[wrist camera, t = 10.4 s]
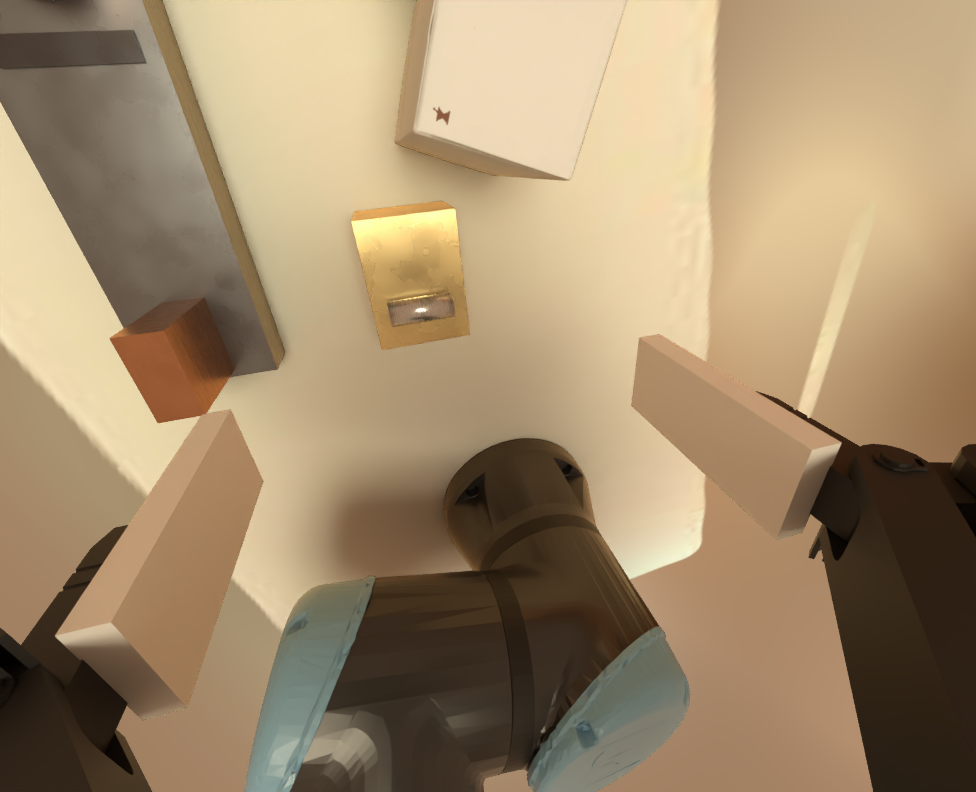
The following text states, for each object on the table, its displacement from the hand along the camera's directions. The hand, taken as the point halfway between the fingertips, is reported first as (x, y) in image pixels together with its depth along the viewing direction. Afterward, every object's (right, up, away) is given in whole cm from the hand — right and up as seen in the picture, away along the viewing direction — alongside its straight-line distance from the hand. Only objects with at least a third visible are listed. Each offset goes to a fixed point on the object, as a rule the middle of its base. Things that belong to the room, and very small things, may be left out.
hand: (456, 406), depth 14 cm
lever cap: (-5, +10, +17) cm, 20 cm away
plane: (-19, +13, +11) cm, 26 cm away
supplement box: (-1, +19, +13) cm, 23 cm away
